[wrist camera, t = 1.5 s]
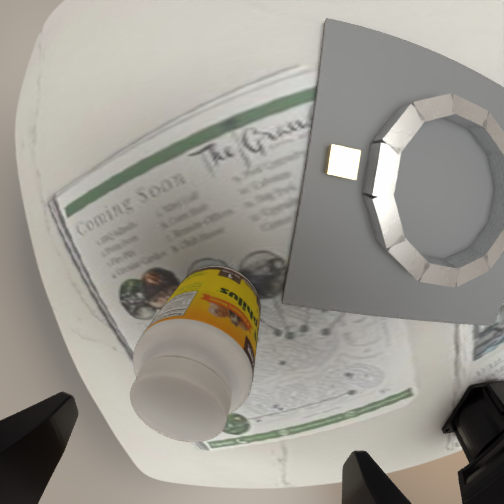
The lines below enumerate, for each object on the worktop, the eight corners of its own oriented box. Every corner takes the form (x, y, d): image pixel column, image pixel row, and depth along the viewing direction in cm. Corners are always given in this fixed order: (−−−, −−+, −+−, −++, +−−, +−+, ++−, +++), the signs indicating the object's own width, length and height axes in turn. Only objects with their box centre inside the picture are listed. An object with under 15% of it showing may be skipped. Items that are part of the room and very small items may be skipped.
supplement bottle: (275, 321, 20) (271, 442, 10) (204, 346, 21) (162, 458, 11) (237, 247, 19) (199, 338, 9) (164, 281, 20) (85, 373, 10)
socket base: (488, 321, 19) (505, 337, 16) (281, 298, 20) (282, 319, 17) (531, 110, 14) (553, 109, 11) (324, 23, 14) (331, 3, 12)
